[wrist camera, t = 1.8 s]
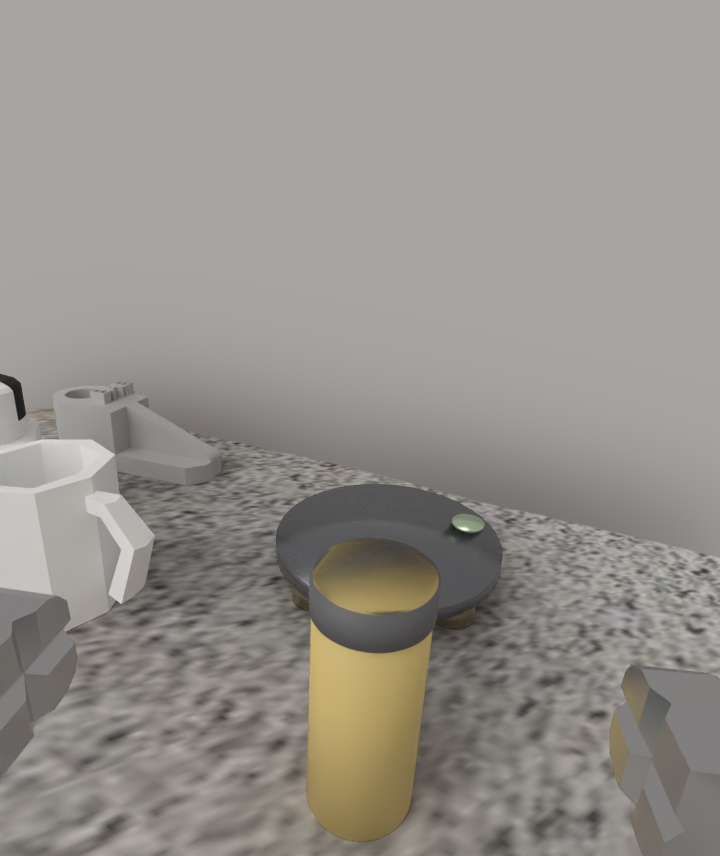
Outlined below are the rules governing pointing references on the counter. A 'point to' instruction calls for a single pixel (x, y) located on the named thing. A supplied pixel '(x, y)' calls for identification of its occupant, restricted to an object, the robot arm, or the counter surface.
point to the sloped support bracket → (134, 434)
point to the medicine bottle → (14, 415)
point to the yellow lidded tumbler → (367, 682)
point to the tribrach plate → (401, 521)
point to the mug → (70, 527)
